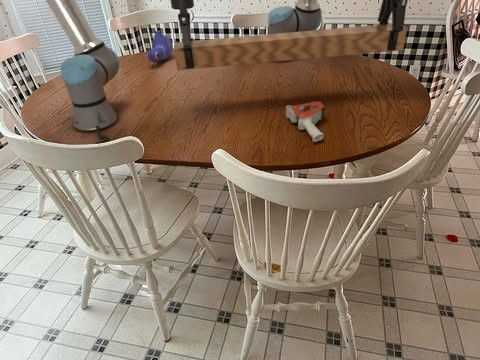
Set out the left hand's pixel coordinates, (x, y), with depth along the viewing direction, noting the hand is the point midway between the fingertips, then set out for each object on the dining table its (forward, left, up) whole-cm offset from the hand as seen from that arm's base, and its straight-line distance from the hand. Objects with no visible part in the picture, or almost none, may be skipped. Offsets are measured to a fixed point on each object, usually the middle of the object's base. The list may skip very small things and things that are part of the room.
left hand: (190, 63), depth 129 cm
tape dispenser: (-20, -40, -17) cm, 48 cm away
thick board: (+4, -36, 0) cm, 37 cm away
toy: (+59, +26, -17) cm, 67 cm away
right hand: (+7, -73, 0) cm, 73 cm away
